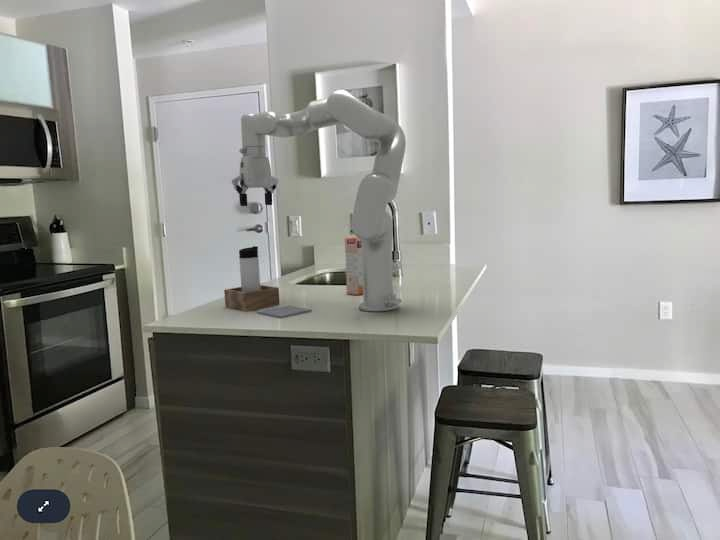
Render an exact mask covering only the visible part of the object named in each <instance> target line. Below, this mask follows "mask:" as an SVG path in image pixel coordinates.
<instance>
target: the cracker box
mask: <svg viewBox="0 0 720 540" xmlns="http://www.w3.org/2000/svg"><path fill="white" fill-rule="evenodd" d="M344 248H345V250H344V253H345V281H346V284H345V285H346V286H345V287H346V295H350V294H352V295H351V296H353V295H354V296H360V295H363V275H362V240H361V239H359V238H358V237H356V236H355V235H354V236H348V237H346V236H345V238H344Z"/></svg>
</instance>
